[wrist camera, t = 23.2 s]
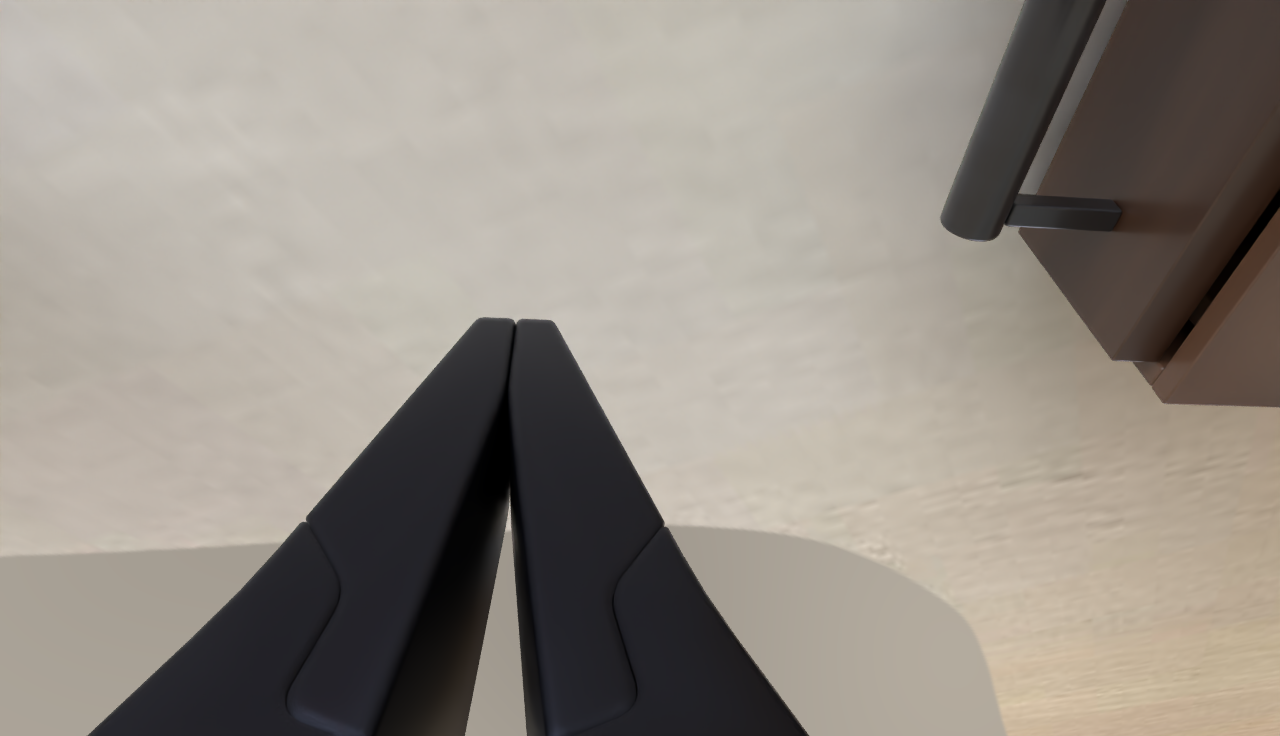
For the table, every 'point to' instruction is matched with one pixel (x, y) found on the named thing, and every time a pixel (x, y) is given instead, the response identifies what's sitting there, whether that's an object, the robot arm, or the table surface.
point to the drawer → (1133, 159)
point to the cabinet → (1230, 339)
